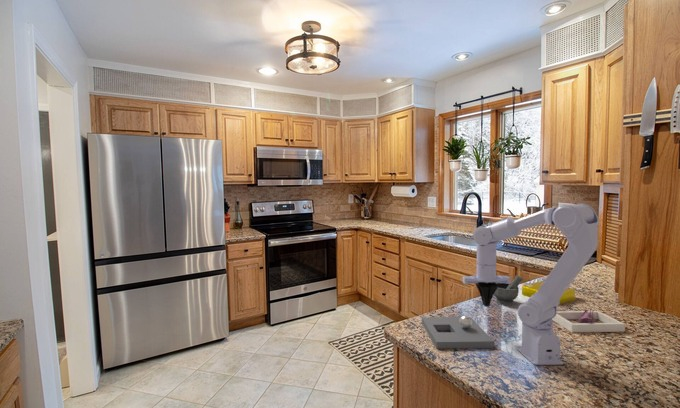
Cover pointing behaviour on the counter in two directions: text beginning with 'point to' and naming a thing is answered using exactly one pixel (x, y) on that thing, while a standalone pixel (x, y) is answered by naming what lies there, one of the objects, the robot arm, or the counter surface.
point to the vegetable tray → (607, 326)
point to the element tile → (534, 287)
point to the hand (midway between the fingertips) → (486, 305)
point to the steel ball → (465, 322)
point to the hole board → (455, 333)
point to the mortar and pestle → (507, 291)
